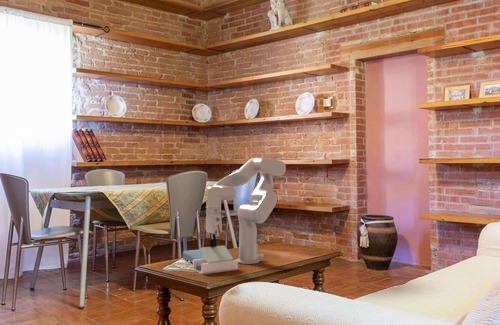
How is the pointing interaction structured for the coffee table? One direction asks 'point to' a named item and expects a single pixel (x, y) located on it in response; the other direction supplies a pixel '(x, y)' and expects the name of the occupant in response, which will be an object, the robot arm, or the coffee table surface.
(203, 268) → the white channel
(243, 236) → the robot arm
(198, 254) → the book
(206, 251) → the cover
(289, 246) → the coffee table surface
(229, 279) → the coffee table surface
